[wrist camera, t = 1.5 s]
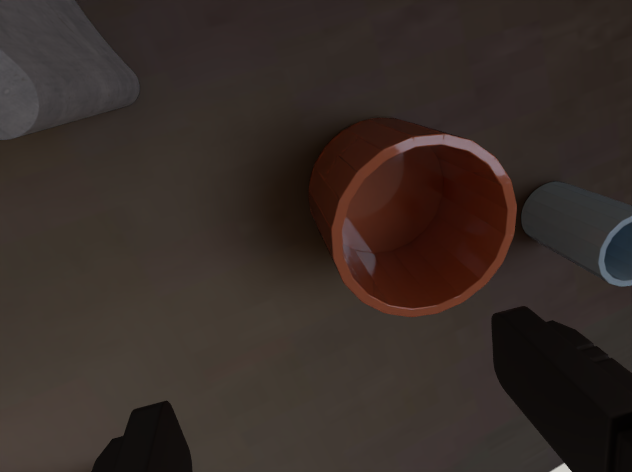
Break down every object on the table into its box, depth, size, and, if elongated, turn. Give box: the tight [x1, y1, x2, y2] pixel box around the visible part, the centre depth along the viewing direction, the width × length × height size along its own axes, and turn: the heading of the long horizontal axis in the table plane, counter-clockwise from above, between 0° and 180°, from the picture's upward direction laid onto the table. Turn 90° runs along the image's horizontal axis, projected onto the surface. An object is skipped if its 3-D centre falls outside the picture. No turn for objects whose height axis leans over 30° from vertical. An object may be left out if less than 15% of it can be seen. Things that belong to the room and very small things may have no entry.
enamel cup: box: [521, 182, 632, 287], centre depth 38 cm, size 6×6×10 cm
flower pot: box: [309, 118, 517, 317], centre depth 34 cm, size 13×13×11 cm
